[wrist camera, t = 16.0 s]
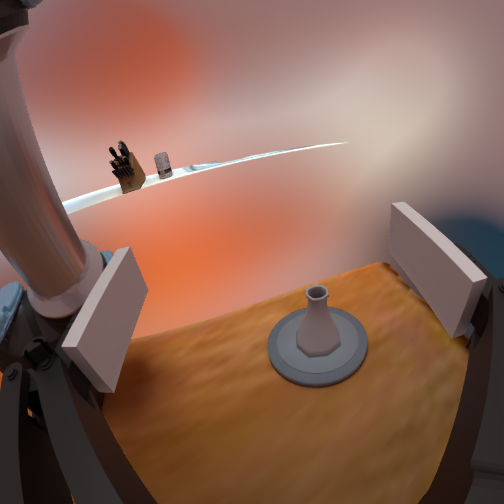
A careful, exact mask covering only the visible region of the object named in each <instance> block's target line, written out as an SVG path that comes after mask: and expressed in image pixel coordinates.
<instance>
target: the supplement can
mask: <svg viewBox="0 0 504 504" xmlns="http://www.w3.org/2000/svg"><path fill="white" fill-rule="evenodd" d="M154 159H155V163H156V166H157V171H158V174H159V178H160V179H166V178H169V177H171V176H172V170H171V166H170V162H169V159H168V154H167V153H166V152H163V153H159V154H156V155H155V157H154Z"/></svg>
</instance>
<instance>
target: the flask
mask: <svg viewBox="0 0 504 504" xmlns="http://www.w3.org/2000/svg"><path fill="white" fill-rule="evenodd" d="M305 291H306V297H307V299H308V304H307V310H306V312H305V314H304V317H303V319H302V321H301V323H300V325H299V327H298V329H297V331H296V345H297V347H298V348H299V349H300V350H301V351H302V352H304V353H305V354H306V355H307V356H308V357H312V356H322V355H328V354H329V353H331V352H332V351H333V350H335V349H336V348H337V347H338V346H340V345H341V342H340V337H339V332H338V329H337V327H336V325H335V323H334V321H333V319H332V317H331V315H330V313H329V310H328V307H327V298H328V297H329V293H328V288H326V287H325V286H323V285H321V284H320V285H312V286H310V287H309V288H307V289H306V290H305Z"/></svg>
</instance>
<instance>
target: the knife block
mask: <svg viewBox="0 0 504 504" xmlns="http://www.w3.org/2000/svg"><path fill="white" fill-rule="evenodd" d="M118 144H119V145H118V147H119V148H118V150H120V152H121V156H117V154H116V152H115V150H114V149H113V148H112V147H110V148H109V151H110V153H111V154H112V155H113V156H114V157H115V159H114V161H115V162H114V161H110V164H111V165H112V167H113V168H114V169H115V170H113V171H112V173H113V174H114V175H115V176H116V177H117V178H118V180H119V183H120V185H121V188H122V191H123V194H124V193H127V192H130V191H133V190H136V189H140V187H141V186H142V183H143V182H144V180H145V178H146V177H145V173H144V172H143V170H142V168H141V166H140V165H139V163H138V161H137V159H136V158H135V156H134V155H133V153H132V152H129V150H128V148H127V146H126V145H125V143H124V142H122V141H119V142H118Z"/></svg>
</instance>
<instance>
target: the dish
mask: <svg viewBox="0 0 504 504" xmlns="http://www.w3.org/2000/svg"><path fill="white" fill-rule="evenodd" d="M306 310H307V308H303V309H300V310H297V311H295V312H292V313H290V314H289V315H287V316H285V317H284V318H283V319H281V320H280V321H279V322H278V323H277V324H276V325H275V327H274V328H273V329H272V331H271V333H270V336H269V339H268V352H269V357H270V361H271V364H272V365H273V367H274V369H275V370H276V371H277V372H278V374H280V375H281V376H282V377H283V378H285V379H286V380H288V381H290V382H292V383H294V384H297V385H300V386H305V387H314V388H315V387H326V386H331V385H335V384H337V383H340V382H342V381H344V380H346V379H347V378H349V377H350V376H351V375H353V374H354V373H355V372H356V371H357V370H358V369H359V367H360V366H361V364H362V363H363V361H364V358H365V355H366V350H367V334H366V331H365V329H364V327H363V326H362V324H361V323H360V322H359V321H358V320H357V319H356V318H355V317H354V316H352V315H351V314H349V313H348V312H345V311H343V310H340V309H337V308H333V307H328V310H329V313H330V315H331V317H332V319H333V321H334V323H335V325H336V327H337V329H338V332H339V337H340V342H341V345H340V346H338V347H337V348H336V349H335V350H333V351H332V352H331V353H329V354H328V355H322V356H312V357H308V356H307V355H306V354H305V353H304V352H302V351H301V350H300V349H299V348H298V347H297V345H296V331H297V329H298V327H299V325H300V323H301V321H302V319H303V317H304V314H305V312H306Z"/></svg>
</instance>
